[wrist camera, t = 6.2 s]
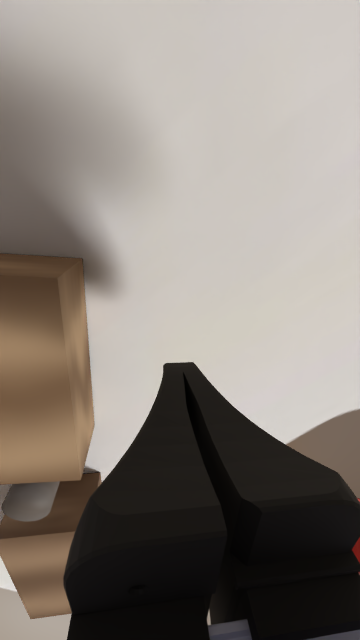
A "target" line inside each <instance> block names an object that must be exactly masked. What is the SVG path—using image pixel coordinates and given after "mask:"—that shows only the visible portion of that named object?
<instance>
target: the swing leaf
mask: <svg viewBox="0 0 360 640" xmlns="http://www.w3.org/2000/svg"><path fill="white" fill-rule="evenodd" d="M93 429H94V413H93V399H92V385H91V371H90V357H89V344H88V330H87V316H86V302H85V289H84V275H83V261H82V259H81V258H65V257H49V256H33V255H17V254H0V485H1V484H12V486H11V488H10V490H9V492H8V494H7V496H6V498H5V500H4V502H3V504H2V510H3V512H4V513H5V514H6V515H7V516H8V517H10V518H12V519H14V520H18V521H27V522H28V521H36V520H40V519H42V518H44V517H46V516H47V515H48V514H49V513H50V511H51V507H52V504H53V501H54V498H55V495H56V492H57V489H58V486H59V483H60V481H76V480H81V477H82V473H83V469H84V465H85V461H86V457H87V453H88V449H89V445H90V441H91V437H92V433H93Z"/></svg>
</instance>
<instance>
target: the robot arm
mask: <svg viewBox="0 0 360 640" xmlns="http://www.w3.org/2000/svg"><path fill="white" fill-rule="evenodd" d="M359 537H360V502H359V501H358V499H357V498H356V496H355V495H354V493H353V492H352V490H351V489H350V488H349V486H348V485H347V484H346V482H345V481H344V480H343V479H342V477H341V476H340V475H339V474H338V473H337V472H336V471H334V470H332V469H330V468H328V467H326V466H324V465H322V464H320V463H318V462H316V461H314V460H312V459H310V458H308V457H306V456H304V455H302V454H301V453H299V452H297V451H295V450H294V449H292V448H290V447H289V446H287V445H285V444H284V443H282V442H280V441H279V440H277V439H276V438H274V437H273V436H271V435H270V434H268V433H267V432H265V431H264V430H262V429H261V428H259V427H258V426H257V425H255V424H254V423H253V422H251V421H250V420H249V419H248V418H246V417H245V416H244V415H243V414H241V413H240V412H239V411H238V410H237V409H236V408H234V407H233V406H232V405H231V404H230V403H229V402H228V401H227V400H226V399H225V398H224V397H223V396H222V395H221V394H220V393H219V392H218V391H217V390H216V389H215V387H214V386H213V385H212V384H211V383H210V382H209V381H208V380H207V378H206V377H205V376H204V375H203V373H202V372H201V371H200V370H199V368H198V367H197V366H196V365H195V364H194V363H193V362H187V363H166V364H165V365H163V378H162V382H161V385H160V388H159V391H158V394H157V397H156V399H155V402H154V404H153V406H152V409H151V411H150V413H149V415H148V417H147V419H146V421H145V423H144V424H143V426H142V428H141V430H140V431H139V433H138V435H137V436H136V438H135V440H134V441H133V443H132V444H131V446H130V447H129V449H128V450H127V451H126V453H125V454H124V455H123V457H122V458H121V460H120V461H119V462H118V464H117V465H116V466H115V468H114V469H113V470H112V471H111V473H110V474H109V475H108V476H107V477H106V479H105V480H104V481H103V482H102V483H101V484H100V486H99V487H98V488H97V489H96V490H95V491H94V493H93V494H92V495H91V496H90V498H89V500H88V502H87V504H86V507H85V509H84V511H83V513H82V516H81V518H80V520H79V523H78V525H77V528H76V531H75V534H74V537H73V540H72V543H71V546H70V550H69V554H68V559H67V563H66V568H65V572H64V576H63V586H64V589H65V593H66V596H67V599H68V602H69V605H70V608H71V612H72V615H71V620H70V626H69V631H68V637H67V640H360V575H359V573H358V572H360V563H359V561H358V559H357V557H356V556H355V554H354V552H353V551H352V549H353V547H354V545H355V544H356V542H357V540H358V539H359ZM208 612H210V621H211V625H208V623H207V617H208Z"/></svg>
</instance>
